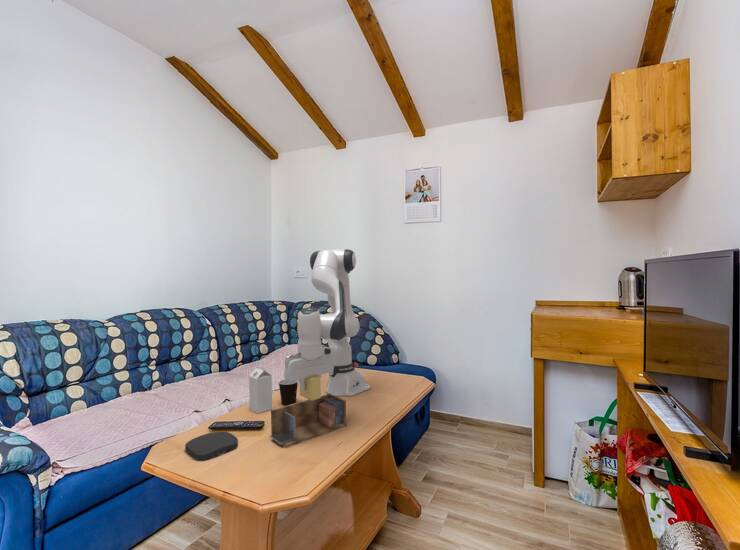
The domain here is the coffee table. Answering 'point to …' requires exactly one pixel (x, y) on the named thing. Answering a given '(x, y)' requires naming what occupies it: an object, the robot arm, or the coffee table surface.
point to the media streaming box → (211, 445)
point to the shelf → (311, 417)
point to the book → (311, 388)
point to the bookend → (286, 430)
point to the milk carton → (260, 390)
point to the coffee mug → (288, 391)
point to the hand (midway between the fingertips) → (310, 388)
